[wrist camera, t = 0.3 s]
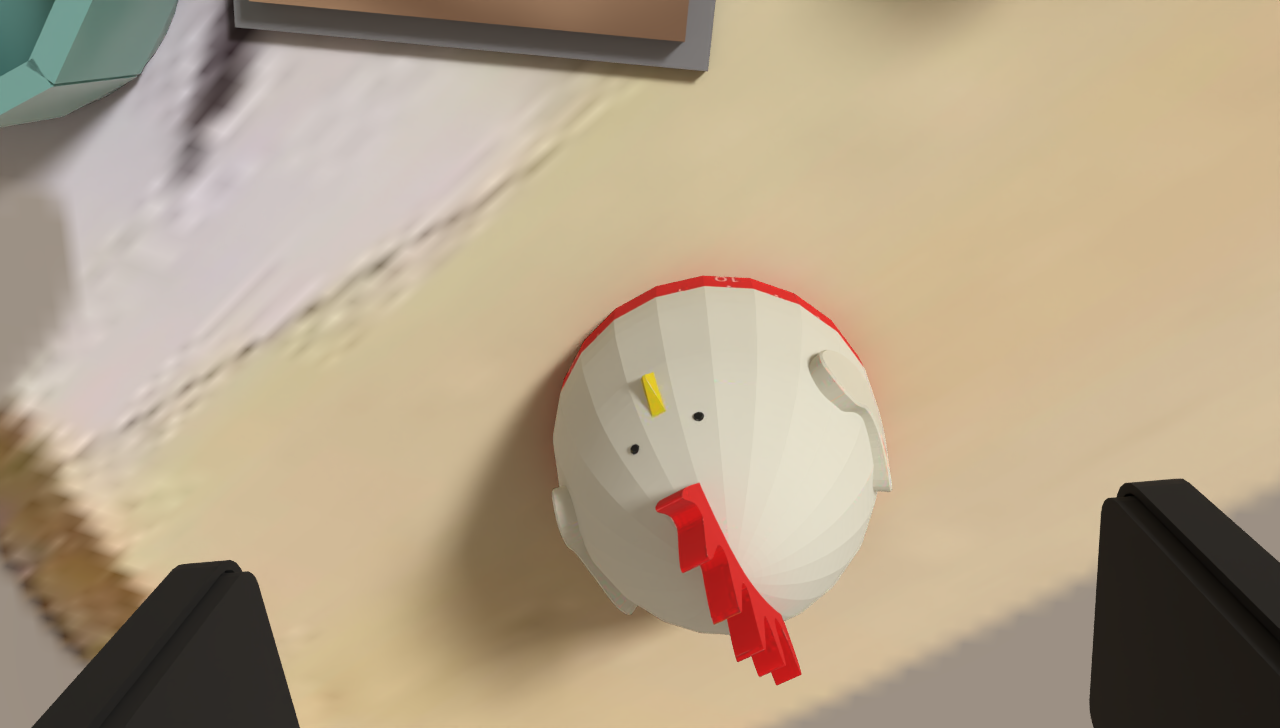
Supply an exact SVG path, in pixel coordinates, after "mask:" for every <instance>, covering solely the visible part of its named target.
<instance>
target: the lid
mask: <svg viewBox="0 0 1280 728" xmlns="http://www.w3.org/2000/svg"><path fill="white" fill-rule="evenodd" d="M249 1H253V2H264V3H274V4H285V5H296V6H306V7H317V8H328V9H338V10H349V11H360V12H370V13H381V14H392V15H403V16H413V17H424V18H435V19H445V20H456V21H467V22H477V23H488V24H499V25H509V26H520V27H531V28H541V29H552V30H563V31H573V32H584V33H595V34H605V35H616V36H627V37H637V38H648V39H659V40H670V41H680V42H685V36H686V26H687V16H688V6H689V0H249Z"/></svg>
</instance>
